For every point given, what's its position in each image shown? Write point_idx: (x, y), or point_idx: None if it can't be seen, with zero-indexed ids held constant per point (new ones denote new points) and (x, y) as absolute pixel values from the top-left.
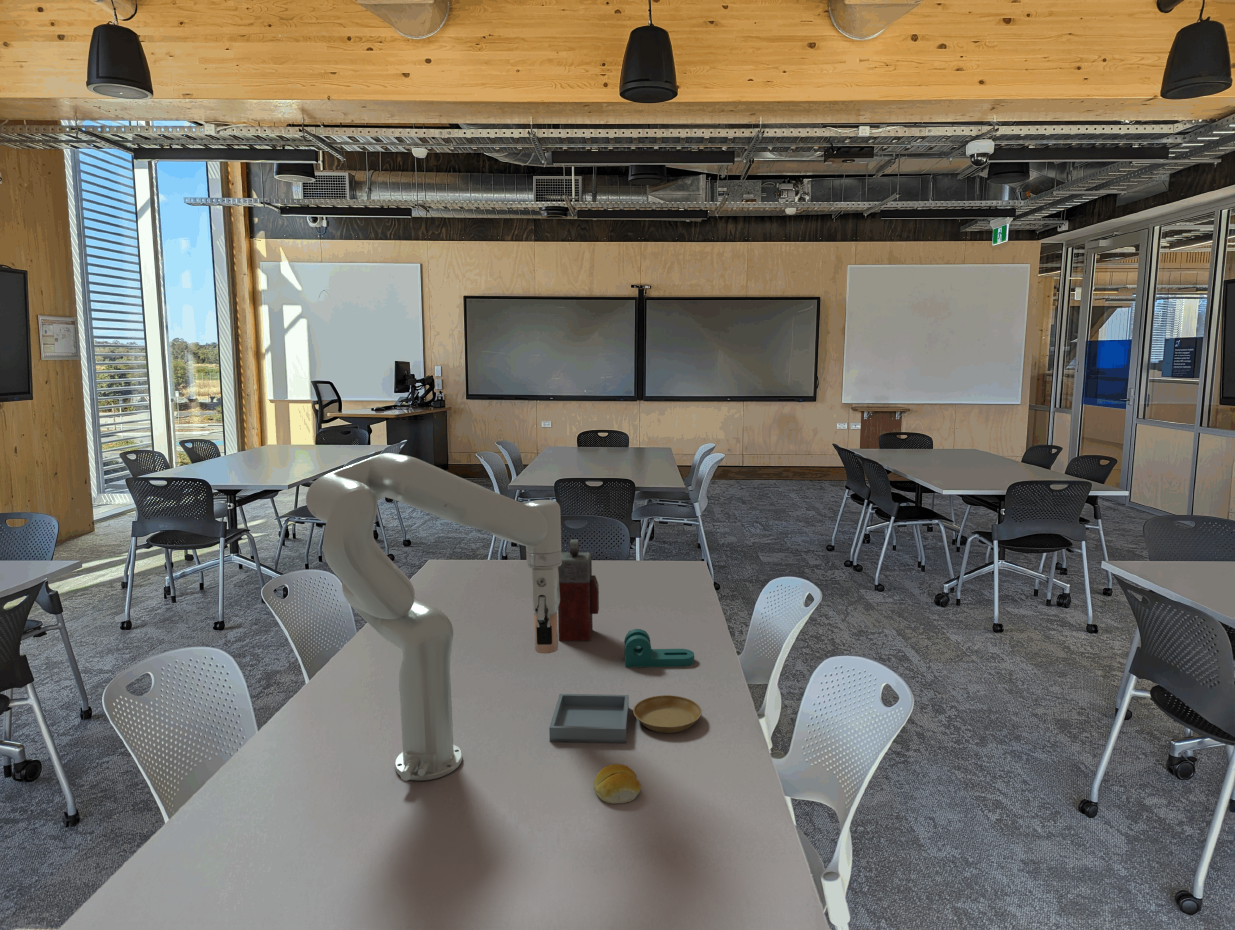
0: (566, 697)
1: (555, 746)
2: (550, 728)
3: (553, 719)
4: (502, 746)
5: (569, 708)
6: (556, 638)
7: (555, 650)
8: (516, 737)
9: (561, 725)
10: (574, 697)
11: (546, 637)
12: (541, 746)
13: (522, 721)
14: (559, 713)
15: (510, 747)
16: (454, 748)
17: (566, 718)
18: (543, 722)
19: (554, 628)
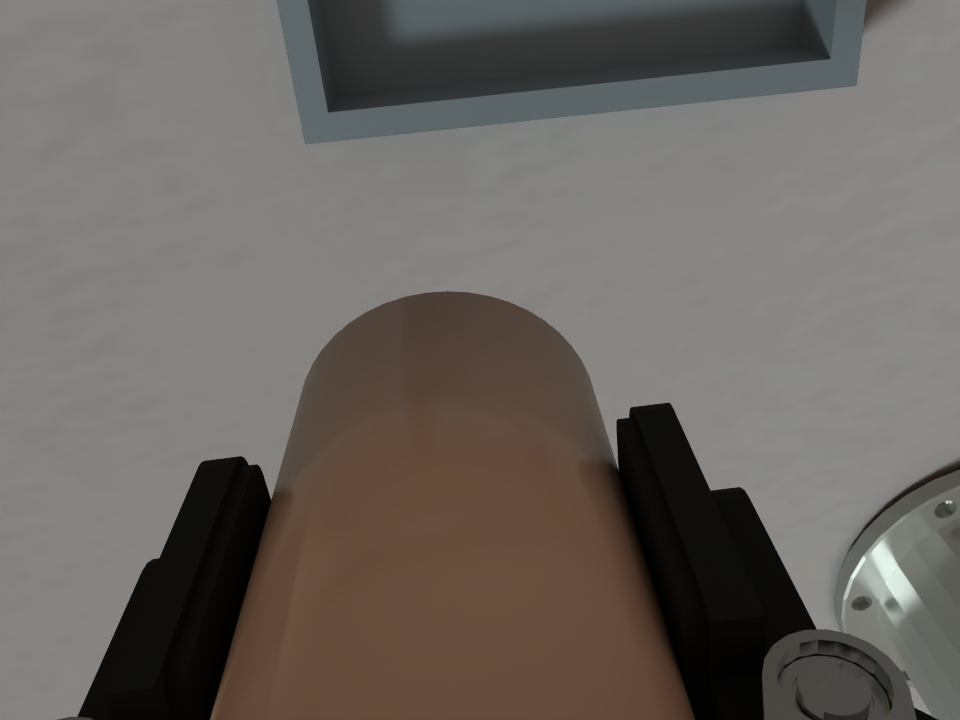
0: (323, 78)
1: (879, 10)
2: (856, 76)
3: (731, 86)
4: (851, 324)
5: (374, 32)
6: (495, 385)
7: (516, 309)
8: (754, 281)
9: (639, 31)
10: (313, 8)
11: (764, 537)
12: (871, 105)
13: (560, 302)
14: (523, 81)
15: (866, 281)
16: (920, 525)
17: (531, 18)
18: (562, 173)
19: (559, 527)
